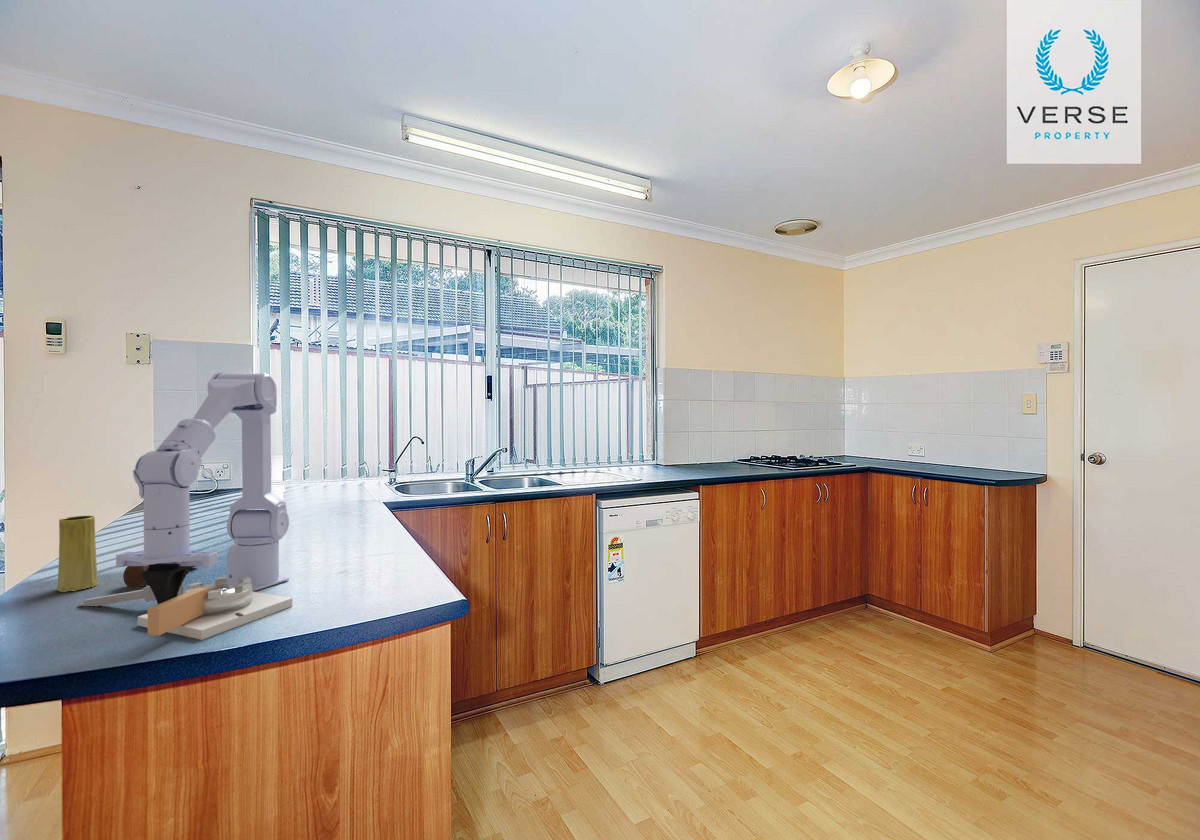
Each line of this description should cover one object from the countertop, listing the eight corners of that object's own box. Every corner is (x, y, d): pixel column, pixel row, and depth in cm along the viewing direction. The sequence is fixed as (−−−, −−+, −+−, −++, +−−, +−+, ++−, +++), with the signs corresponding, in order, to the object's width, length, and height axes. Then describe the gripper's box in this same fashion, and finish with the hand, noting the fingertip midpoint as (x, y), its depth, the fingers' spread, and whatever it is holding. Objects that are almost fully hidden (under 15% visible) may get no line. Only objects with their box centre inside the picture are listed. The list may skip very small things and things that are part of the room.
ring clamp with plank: (211, 594, 100) (211, 572, 100) (265, 594, 100) (264, 573, 100) (121, 634, 82) (121, 608, 82) (185, 635, 82) (185, 609, 82)
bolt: (199, 575, 125) (137, 595, 110) (182, 564, 126) (118, 582, 111) (211, 554, 125) (150, 570, 110) (193, 542, 125) (131, 557, 110)
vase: (49, 590, 108) (49, 519, 108) (88, 581, 114) (87, 514, 114) (66, 594, 106) (66, 521, 106) (104, 585, 112) (104, 516, 112)
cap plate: (137, 625, 91) (137, 615, 91) (232, 595, 106) (232, 586, 106) (201, 639, 85) (201, 629, 85) (292, 606, 100) (292, 596, 100)
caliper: (185, 609, 99) (184, 575, 99) (180, 611, 98) (179, 577, 98) (82, 606, 101) (82, 572, 100) (76, 608, 99) (76, 573, 99)
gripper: (98, 531, 82) (98, 620, 82) (194, 531, 82) (194, 620, 82) (137, 522, 89) (137, 604, 89) (226, 522, 89) (226, 604, 89)
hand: (167, 611), depth 86 cm, fingers closed
